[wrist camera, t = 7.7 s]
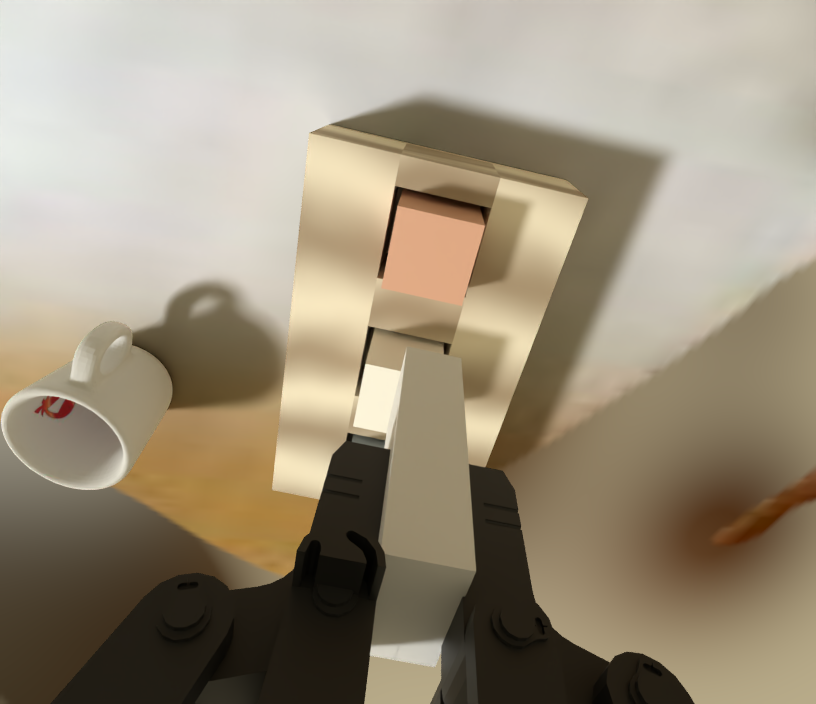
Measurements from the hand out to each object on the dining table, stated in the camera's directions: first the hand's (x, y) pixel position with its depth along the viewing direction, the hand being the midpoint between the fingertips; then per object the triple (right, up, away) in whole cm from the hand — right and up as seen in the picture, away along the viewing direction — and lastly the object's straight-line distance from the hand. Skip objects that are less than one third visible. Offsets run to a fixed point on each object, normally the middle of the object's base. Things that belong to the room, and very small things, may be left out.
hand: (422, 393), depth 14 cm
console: (-1, +2, +21) cm, 21 cm away
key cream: (-1, +1, +17) cm, 17 cm away
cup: (-21, +1, +23) cm, 31 cm away
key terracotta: (+1, +8, +15) cm, 17 cm away
